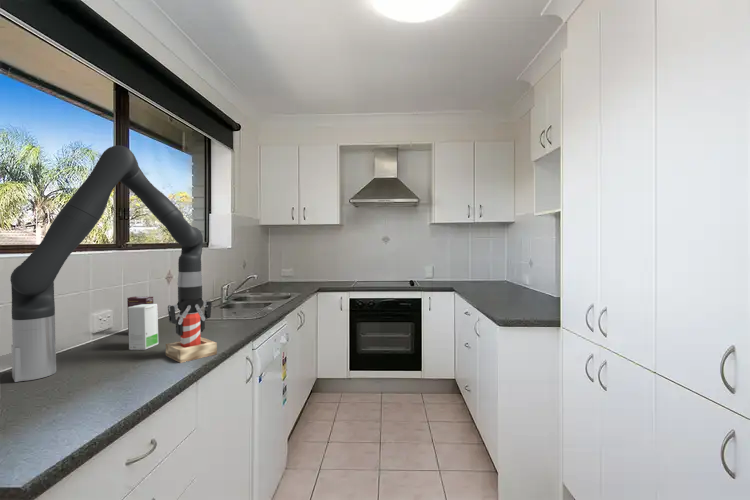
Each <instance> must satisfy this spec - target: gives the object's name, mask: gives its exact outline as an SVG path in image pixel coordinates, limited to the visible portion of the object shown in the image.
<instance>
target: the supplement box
mask: <svg viewBox="0 0 750 500" xmlns="http://www.w3.org/2000/svg"><path fill="white" fill-rule="evenodd" d="M126 300H127V308H128V307H131V306H136V305H141V304H154V296H130V297H127V299H126ZM127 334H128V336H129V321H128V320H127Z"/></svg>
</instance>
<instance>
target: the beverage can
mask: <svg viewBox="0 0 750 500" xmlns="http://www.w3.org/2000/svg"><path fill="white" fill-rule="evenodd" d="M182 314H183V313H182ZM201 333H202V332H201V320H200V315H199V314H198V312H196V313H187V315H186V317H185V318H183V322H182V335H181V336H179V337H180V343H181V347H184V348H186V347H191V346H196V345H200V344H201V336H202V335H201Z"/></svg>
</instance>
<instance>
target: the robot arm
mask: <svg viewBox="0 0 750 500" xmlns="http://www.w3.org/2000/svg"><path fill="white" fill-rule="evenodd" d="M119 182H120V183H121V184H122V185H124V186H125V187H126V188H127V189H129V190H130V191H131V192H132V193H133V194H134V195H135V196H136V197H137V198H138V199H139V201H141V202H142V204H143V205H145V207H146V208H147V209H148V211H150V212H151V214H152V215H153V216H154V217H155V218H156V219H157V220H158V221H159V222H160V223H161V225H163V226H164V227H165V228H166V230H167V232H168V233H169V234H170V236H171V237H172V239H174V241H176V243H177V244H178V245H180V246H181V252H180V253H181V254H180V256H179V257H178V263H177V264H178V267H177V268H178V270H177V271H178V276H177V282H176V283H177V303H176V304H173V305H170V304H169V305H168V306H167V313H168V322H169V323H170V324H175V333H176V334H177V336H179V337H180V336H181V335H182V322H183V318H185V317H186V315H187V313H196V312H198V314H199V315H200V320H201V333H203V332H204V331H205V329H206V327H205V326H206V323H205V322H206V320H208V319H210V318H211V315H212V304H213V303H212V301H210V300H203V274H202V252H203V245H204V237H203V233H202V231H201V230H200V229H199V228H197V227H195V226H192V225H191V224H190V223H189V222H188V221H187V220H186V219H185V217H184V215H183V212H182V211H181V210H180V208H178V207H177V206H176V204H174V203H173V202H172V201H171V200H170V198H168V196H166V195H165V194H164V193H163V192H162V191H160V189H158V188H157V187H156V186H154V184H152V183H151V181H150V180H149V179H148V177H147V176H146V175H145V174H144V172H143V171H142V169H141V168H140V166H139V163H138V160H137V158H136V156H135V154H134V152H132V150H131V149H130V148H129V147H126V146H125V145H113V146H109V147H108V148H106V149H105V150H104V151H103V152H102V154H101V155H100V157H99V159H98V160H97V162H96V164H95V165H94V167H93V168H92V170H91V172H90V174H89V175H88V176H87V178H86V179H85V180H84V181H83V182H82V184H81V185H80V186H79V187H78V189H77V190H76V191H75V192H74V194H73V195H72V196H71V197H70V199H69V200H68V201H67V202H66V203H65V205H64V206H63V207H61V209H60V211H59V212H58V213H57V215H56V216H55V218H54V220H53V221H52V222H51V224H50V226H49V227H48V229H47V231H46V233H45V235H44V236H43V239H42V240H41V242H40V243H39V244H38V246H37V247H35V249H33V251H32V252H31V253H30V254H29V256H27V257H26V259H25V260H24V261H22V263H20V264H19V265H18V266H16V267H15V268H14V269H13V271H12V272H11V274H10V284H11V285H10V287H11V289H10V290H11V329H12V331H11V332H12V333H11V334H12V335H11V336H12V342H11V343H12V344H11V348H10V349H11V369H12V370H11V377H12V380H13V381H14V383H17V382H23V381H24V382H26V381H33V380H39V379H42V378H46V377H49V376H53V375H55V374H56V373H57V351H56V350H57V349H56V347H57V346H56V343H57V342H56V339H57V338H56V305H55V304H56V303H55V280H56V279H57V276H58V274H59V272H60V270H61V269H62V268H63V266H64V264H65V262H66V261H67V259H68V258H69V257H70V256H71V254H72V253H73V252H74V251H75V250H76V249H77V247H79V246H80V244H81V243H82V242H83V241H84V240H85V239H86V238H87V237H88V236H89V234H90V233H91V232H92V231H93V229H94V228H95V226H96V225H97V224H98V222H99V221H100V220H101V219H102V217H103V215H104V213H105V210H106V207H107V205H108V203H109V200H110V197H111V194H112V192H113V191H114V189H115V188H116V186H117V185H118V184H119ZM202 307H204V311H202ZM177 309H178V310H179V312H178V314H177V317H176V312H177ZM182 313H183V314H182Z"/></svg>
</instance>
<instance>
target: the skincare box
mask: <svg viewBox="0 0 750 500" xmlns="http://www.w3.org/2000/svg"><path fill="white" fill-rule="evenodd" d="M158 310H159V309H158V303H153V304H141V305H136V306H131V307H128V306H127V322H128V321H129V335H128V350H131V351H139V350H140V351H141V350H142V351H143V350H147V349H150V348H152V347H156V346H157V345H159V320H158V319H159V318H158V316H159V315H158V313H159V312H158Z"/></svg>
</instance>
